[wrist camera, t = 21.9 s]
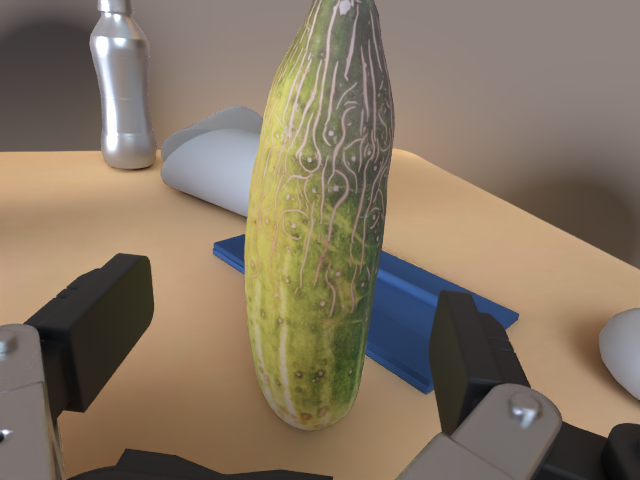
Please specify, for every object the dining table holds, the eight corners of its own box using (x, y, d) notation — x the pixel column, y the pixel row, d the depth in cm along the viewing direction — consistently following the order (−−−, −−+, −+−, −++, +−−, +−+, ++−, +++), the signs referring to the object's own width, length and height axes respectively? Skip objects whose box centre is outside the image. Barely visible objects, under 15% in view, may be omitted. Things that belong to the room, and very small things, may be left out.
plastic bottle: (117, 158, 63) (99, -7, 55) (166, 163, 63) (155, -2, 55) (93, 172, 57) (68, -11, 49) (147, 177, 57) (131, -6, 49)
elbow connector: (110, 177, 52) (233, 229, 42) (119, 80, 50) (253, 110, 39) (226, 180, 67) (339, 219, 56) (238, 105, 64) (359, 132, 54)
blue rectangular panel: (212, 253, 40) (212, 241, 40) (312, 222, 48) (313, 212, 48) (426, 395, 26) (430, 379, 26) (517, 319, 34) (522, 306, 34)
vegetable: (223, 437, 23) (214, -36, 14) (268, 359, 28) (281, -16, 20) (343, 472, 21) (411, -25, 13) (367, 382, 27) (424, -6, 19)
